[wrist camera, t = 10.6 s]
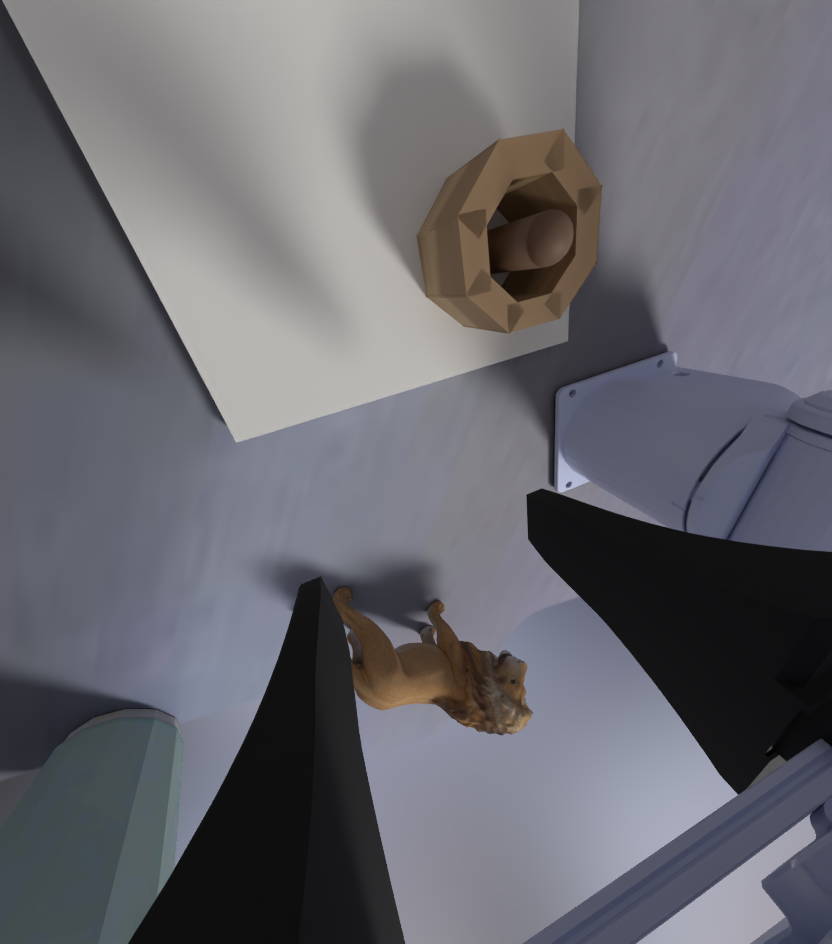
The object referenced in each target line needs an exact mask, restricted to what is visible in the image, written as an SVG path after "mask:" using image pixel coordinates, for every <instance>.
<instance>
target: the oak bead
mask: <svg viewBox="0 0 832 944" xmlns="http://www.w3.org/2000/svg"><path fill="white" fill-rule="evenodd" d="M601 190H602V185H601V184H600V183H599V181H598V180H597V178H596V177H595V175H594V174H593V172H592V171H591V169H590V168H589V166H588V165H587V163H586V162H585V160H584V159H583V157H582V156H581V154H580V153H579V151H578V150H577V148H576V147H575V145H574V144H573V142H572V141H571V139H570V138H569V136H568V135H567V133H566V132H565V129H563V128H562V129H560V130H554V131H548V132H542V133H536V134H530V135H524V136H517V137H511V138H505V139H500V138H499V139H498V140H497V141H495V142H494V143H493V144H492V145H490V146H489V147H488V148H486V149H485V150H484V151H482V152H481V153H480V154H478V155H477V156H476V157H474V158H473V159H472V160H470V161H469V162H468V163H466V164H465V165H464V166H462V167H461V168H460V169H458V170H457V171H456V172H454V173H453V174H452V175H450V176H449V177H448V178H446V179H445V183H444V184H443V186H442V188H441V190H440V192H439V194H438V196H437V198H436V200H435V202H434V204H433V205H432V207H431V209H430V211H429V213H428V215H427V217H426V219H425V221H424V223H423V225H422V226H421V228H420V230H419V232H418V234H417V236H416V237H417V241H418V248H419V254H420V260H421V266H422V272H423V278H424V284H425V291H426V297H427V298H429V299H430V300H431V301H432V302H434V303H435V304H436V305H437V306H439V307H440V308H441V309H442V310H444V311H445V312H446V313H447V314H449V315H450V316H451V317H452V318H454V319H455V320H456V321H457V322H459V323H460V324H461V325H463V327H469V328H476V329H482V330H489V331H495V332H502V333H508V334H510V333H512V332H515V331H519V330H522V329H526V328H529V327H533V326H536V325H539V324H543V323H546V322H550V321H553V320H557V319H560V318H561V316H562V315H563V313H564V312H565V310H566V308H567V307H568V305H569V304H570V302H571V301H572V299H573V298H574V296H575V295H576V293H577V292H578V290H579V289H580V287H581V286H582V284H583V283H584V281H585V280H586V278H587V277H588V275H589V274H590V272H591V270H592V269H593V267H594V266H595V264H597V250H598V235H599V220H600V205H601ZM496 209H497V210H498V211H499V212H500V213H501V214H502V216H503V217H504V218H505V219H506V220H507V221H508V222H509V223H511V222H514V221H516V220H519V219H522V218H525V217H528V216H531V215H534V214H537V213H540V212H543V211H546V210H550V209H556V210H560V211H562V212H564V213H565V214H567V215H568V217H569V218H570V220H571V222H572V224H573V232H574V234H573V241H572V244H571V246H570V249H569V250H568V252H567V254H566V255H565V256H564V257H563V258H562V259H561V260H560V261H559V262H557V263H556V264H554V265H552V266H549V267H544V268H536V269H527V270H519V271H511V272H510V273H509V274H508V276H507V278H506V279H505V281H504V283H503V284H502V286H500V285H499V284H498V283H496V282H495V281H494V280H493V279H492V278H491V277H490V265H489V251H488V237H487V224H488V222H489V221H490V219H491V217H492V215H493V214H494V212H495V210H496Z"/></svg>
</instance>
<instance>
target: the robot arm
mask: <svg viewBox="0 0 832 944" xmlns="http://www.w3.org/2000/svg"><path fill="white" fill-rule="evenodd" d="M676 361H677V353H676V352H671V351H669V352H665V353H662V354H660V355H657V356H654V357H651V358H648V359H645V360H642V361H639V362H636V363H633V364H630V365H627V366H624V367H621V368H618V369H615V370H612V371H609V372H606V373H603V374H600V375H597V376H594V377H591V378H588V379H585V380H582V381H579V382H576V383H573V384H570V385H567V386H564V387H562V388H560V389H559V390H558V391H557V393H556V407H555V470H554V488H555V490H556V491H557V492H560V493H561V492H564V491H567V490H569V489H572V488H574V487H577V486H579V485H582V484H584V483H587V482H589V481H591V482H593V483H594V484H596V485H598V486H599V487H601V488H603V489H604V490H606V491H608V492H609V493H611V494H613V495H614V496H616V497H618V498H619V499H621V500H623V501H624V502H626V503H628V504H629V505H631V506H633V507H634V508H636V509H638V510H639V511H641V512H643V513H645V514H646V515H648V516H650V517H651V518H653V519H655V520H656V521H658V522H660V523H661V524H663V525H665V526H666V527H668V528H666V527H662V526H658V525H654V524H651V523H647V522H643V521H640V520H636V519H633V518H629V517H626V516H623V515H620V514H616V513H613V512H610V511H607V510H604V509H601V508H598V507H595V506H592V505H589V504H586V503H583V502H581V501H578V500H575V499H572V498H569V497H566V496H563V495H560V494H557V493H555V492H551V491H548V490H545V489H540V490H537V491H535V492H532V493H530V494H527V519H528V539H529V541H530V542H531V543H532V545H533V546H534V547H535V549H536V550H537V551H538V553H539V554H540V555H541V556H542V558H543V559H544V560H545V562H546V563H547V564H548V565H549V566H550V567H551V568H552V569H553V570H554V571H555V572H556V573H557V574H558V575H559V576H560V577H561V578H562V579H563V580H564V581H565V582H566V583H567V584H568V585H569V586H570V587H571V588H572V589H573V590H574V591H575V592H576V593H577V594H578V595H579V596H580V597H581V598H582V599H583V600H584V601H585V602H586V603H587V604H588V605H589V606H590V607H591V608H592V609H593V610H594V611H595V612H596V613H597V614H598V615H599V616H600V617H601V618H602V619H603V620H604V622H605V623H606V624H607V625H608V626H609V627H610V628H611V630H612V631H613V632H614V633H615V635H616V636H617V637H618V638H619V639H620V640H621V642H622V643H623V644H624V645H625V647H626V648H627V649H628V650H629V651H630V653H631V654H632V655H633V656H634V658H635V659H636V660H637V661H638V663H639V664H640V665H641V666H642V668H643V669H644V670H645V672H646V673H647V674H648V675H649V677H650V678H651V679H652V680H653V682H654V683H655V684H656V686H657V687H658V688H659V690H660V691H661V692H662V694H663V695H664V696H665V698H666V699H667V700H668V702H669V703H670V704H671V706H672V707H673V708H674V710H675V711H676V712H677V714H678V715H679V716H680V718H681V719H682V721H683V722H684V723H685V725H686V726H687V728H688V729H689V730H690V732H691V733H692V735H693V736H694V738H695V739H696V741H697V742H698V743H699V745H700V746H701V748H702V749H703V750H704V752H705V753H706V755H707V756H708V758H709V759H710V760H711V762H712V764H713V765H714V767H715V768H716V770H717V771H718V773H719V774H720V775H721V776H722V777H723V779H724V780H725V781H726V782H727V783H728V784H729V785H730V786H731V787H732V788H733V790H734V791H735V792H736V793H737V794H738V796H736V797H735V798H733V799H732V800H730V801H729V802H728V803H726V804H725V805H723V806H722V807H720V808H719V809H717V810H716V811H714V812H713V813H712V814H710V815H709V816H707V817H706V818H705V819H703V820H702V821H700V822H699V823H698V824H696V825H694V826H693V827H691V828H690V829H688V830H687V831H685V832H684V833H683V834H681V835H680V836H678V837H677V838H675V839H674V840H672V841H671V842H670V843H668V844H667V845H665V846H664V847H662V848H661V849H659V850H658V851H657V852H655V853H654V854H652V855H651V856H649V857H648V858H646V859H645V860H643V861H642V862H641V863H639V864H638V865H636V866H635V867H633V868H632V869H630V870H629V871H628V872H626V873H625V874H623V875H622V876H620V877H619V878H617V879H616V880H614V881H613V882H612V883H610V884H609V885H607V886H606V887H604V888H603V889H601V890H600V891H598V892H597V893H596V894H594V895H593V896H591V897H590V898H589V899H587V900H585V901H584V902H583V903H581V904H580V905H578V906H577V907H575V908H574V909H572V910H571V911H570V912H568V913H567V914H565V915H564V916H562V917H561V918H559V919H558V920H557V921H555V922H554V923H552V924H551V925H549V926H548V927H546V928H545V929H543V930H542V931H540V932H539V933H538V934H536V935H535V936H533V937H532V938H530V939H529V940H527V941H526V942H525V943H523V944H636V943H637V942H639V941H640V940H641V939H643V938H644V937H645V936H647V935H648V934H649V933H651V932H652V931H654V930H655V929H656V928H658V927H659V926H660V925H662V924H663V923H664V922H666V921H667V920H668V919H670V918H671V917H672V916H673V915H675V914H676V913H678V912H679V911H680V910H682V909H683V908H684V907H686V906H687V905H688V904H690V903H691V902H692V901H694V900H695V899H696V898H698V897H699V896H701V895H702V894H703V893H705V892H706V891H707V890H709V889H710V888H711V887H713V886H714V885H715V884H717V883H718V882H719V881H721V880H722V879H723V878H725V877H726V876H727V875H729V874H730V873H731V872H733V871H734V870H735V869H737V868H738V867H740V866H741V865H742V864H743V863H745V862H746V861H747V860H749V859H750V858H752V857H753V856H754V855H756V854H757V853H758V852H760V851H761V850H762V849H764V848H765V847H766V846H768V845H769V844H770V843H772V842H773V841H774V840H776V839H777V838H778V837H780V836H781V835H782V834H784V833H785V832H787V831H788V830H789V829H791V828H792V827H793V826H795V825H796V824H797V823H798V822H800V821H801V820H803V819H804V818H805V817H807V816H808V815H809V814H811V815H810V821H811V824H812V826H813V828H814V830H815V833H816V839H815V840H814V841H813V842H812V843H810V844H809V845H808V846H806V847H805V848H803V849H802V850H801V851H799V852H798V853H797V854H795V855H794V856H793V857H791V858H790V859H788V860H787V861H786V862H785V863H783V864H782V865H781V866H779V867H778V868H777V869H776V870H775V871H773V872H772V873H771V874H769V875H768V876H767V877H766V878H765V879H763V880H762V881H761V882H762V887H763V889H764V890H765V891H766V893H767V894H768V895H769V896H770V898H771V899H772V900H773V901H774V903H775V904H776V905H777V906H778V907H779V909H780V910H781V911H782V912H783V914H784V915H785V916H786V917H785V918H784V919H782V920H781V921H780V922H778V923H777V924H776V925H775V926H773V927H772V928H770V929H769V930H768V931H767V932H765V933H764V934H763V935H761V936H760V937H759V938H757V939H756V940H755V941H753V942H752V943H751V944H832V390H828V391H822V392H820V393H817V394H814V395H812V396H809V397H807V398H800V397H799V396H798V395H796V394H795V393H794V392H792V391H790V390H788V389H786V388H784V387H782V386H779V385H776V384H772V383H768V382H762V381H756V380H750V379H745V378H739V377H733V376H727V375H721V374H716V373H710V372H704V371H698V370H692V369H686V368H681V367H675V366H676ZM571 391H572V392H571ZM570 392H571V394H570ZM569 394H570V395H569ZM128 944H405V941H404V936H403V932H402V928H401V924H400V920H399V916H398V911H397V907H396V903H395V899H394V895H393V890H392V886H391V882H390V877H389V873H388V869H387V864H386V860H385V855H384V851H383V846H382V842H381V837H380V833H379V828H378V824H377V819H376V814H375V810H374V805H373V800H372V796H371V792H370V786H369V782H368V777H367V772H366V767H365V762H364V757H363V752H362V747H361V740H360V734H359V727H358V718H357V710H356V701H355V692H354V684H353V675H352V667H351V659H350V651H349V646H348V642H347V637H346V633H345V629H344V625H343V621H342V618H341V616H340V614H339V611H338V609H337V607H336V605H335V603H334V601H333V599H332V597H331V595H330V593H329V591H328V589H327V587H326V585H325V583H324V581H323V579H322V577H318V578H316V579H313V580H311V581H308V582H306V583H303V584H301V586H300V587H299V590H298V594H297V598H296V602H295V606H294V610H293V613H292V617H291V620H290V624H289V627H288V630H287V633H286V636H285V639H284V642H283V645H282V649H281V652H280V655H279V657H278V660H277V663H276V666H275V668H274V671H273V673H272V676H271V679H270V681H269V684H268V687H267V689H266V692H265V694H264V697H263V699H262V701H261V704H260V706H259V709H258V711H257V713H256V715H255V718H254V720H253V722H252V724H251V726H250V729H249V731H248V733H247V735H246V738H245V739H244V742H243V744H242V746H241V748H240V750H239V752H238V754H237V756H236V758H235V760H234V762H233V764H232V766H231V768H230V770H229V772H228V774H227V776H226V778H225V780H224V782H223V783H222V785H221V787H220V789H219V791H218V793H217V795H216V797H215V799H214V800H213V802H212V804H211V806H210V807H209V809H208V811H207V813H206V815H205V816H204V818H203V820H202V821H201V823H200V825H199V827H198V828H197V830H196V832H195V834H194V835H193V837H192V839H191V841H190V842H189V844H188V846H187V848H186V850H185V851H184V853H183V855H182V857H181V858H180V860H179V862H178V864H177V865H176V867H175V869H174V870H173V872H172V874H171V875H170V877H169V879H168V880H167V882H166V884H165V885H164V887H163V888H162V890H161V892H160V893H159V895H158V896H157V898H156V900H155V901H154V903H153V904H152V906H151V907H150V909H149V911H148V912H147V914H146V915H145V917H144V919H143V920H142V922H141V923H140V925H139V927H138V928H137V930H136V931H135V933H134V934H133V936H132V938H131V939H130V941H129V942H128Z"/></svg>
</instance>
